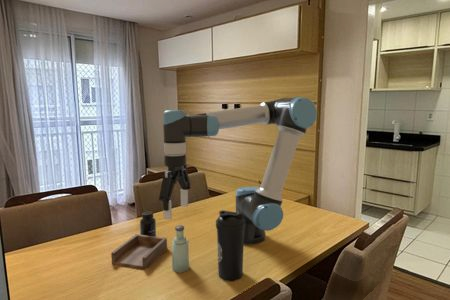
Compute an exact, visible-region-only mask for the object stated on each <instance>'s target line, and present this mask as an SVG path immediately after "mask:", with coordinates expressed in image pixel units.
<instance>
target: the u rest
mask: <svg viewBox="0 0 450 300" xmlns="http://www.w3.org/2000/svg"><path fill="white" fill-rule="evenodd" d="M167 249H168V239H167V237H162V236H156V237H155V236H147V235H140V233H137V234H135V235H133V236H131V238H129V239H127V241H124V242H123V244H121V245H120V246H118V247H117V248H115V249H114V250H113V251H112V252H110V254H111V255H110V256H111V264H112V265H116V266H121V267H122V266H123V267H128V268H129V267H130V268H134V269H141V270H148V268H149V267H150V266H151V265H152V264H153V263H154V262H155V261H156V260H157V259H158V258H159V257H160V256H161V255H162V254H163V253H164V252H165V251H166V250H167Z"/></svg>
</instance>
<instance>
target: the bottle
mask: <svg viewBox="0 0 450 300" xmlns="http://www.w3.org/2000/svg"><path fill="white" fill-rule="evenodd" d="M184 230H185V226H184V225H181V224H180V225H176V226H175V233H176V234H175V236H174V238H173V240H172V241H171V258H172V259H171V261H172V264H171V265H172V271H173V272H176V273H184V272H186V271H188V270H189V268H190V257H189V256H190V255H189V254H190V253H189V240H188V239H187V237H186V236H185V233H184Z"/></svg>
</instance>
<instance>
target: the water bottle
mask: <svg viewBox="0 0 450 300" xmlns="http://www.w3.org/2000/svg"><path fill="white" fill-rule="evenodd" d="M218 214H219V216H218V217H217V219H216V220H215V228H216V234H217V235H216V237H217V238H216V240H217V241H216V245H217V265H218V266H217V267H218V269H217V270H218V271H217V272H218V277H219V279H221V280H223V281H227V282H235V280H236V281H238V280H240V279H241V278H242V277H243V269H244V267H243V265H244V264H243V263H244V245H245V244H244V229H245V220H244V218H243V217H242V213H241V211H239V210H237V211H236V210H235V211H229V210H223V209H222V210H219V212H218Z"/></svg>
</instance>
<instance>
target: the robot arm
mask: <svg viewBox="0 0 450 300" xmlns="http://www.w3.org/2000/svg"><path fill="white" fill-rule="evenodd" d="M317 117H318V110H317V107H316V104H315V103H314V102H313V100H311V99H309V98H308V97H303V96H302V97H301V96H295V97H283V98H277V99H275V100H270V101H266V102H261V103H260V104H259V105H253V106H252V105H251V106H245V107H237V108H231V109H224V110H223V109H222V110H216V111H209V112H202V113H201V112H200V113H196V114H195V113H190V114H187V115H186V111H185V110H183V109H182V110H181V109H179V110H177V109H173V110H172V109H169V110H168V109H167V110H164V112H163V121H162V127H163V148H164V149H163V150H164V151H163V152H164V154H165V155H164V156H163V157H164V158H163V159H164V162H163V163H164V166H165V167H167V171H166V170H164V171H163V172H162V181H161V187H160V190H159V196H158V200H159V201H160V202H161V201H162V208H163V209H162V211H163V220H172V219H173V216H172V215H173V214H172V200H171V197H172V193H173V190H174V187H175V184H177V182H178V184H179V186H180V188H181V189H180V207H186V208H187V207H189V190H191V180H190V177H189V173H188V167H187V156H186V153H187V144H186V142H187V141H186V139H187V138H193V137H194V138H197V137H199V138H200V137H208V138H209V137H214V136H215V137H216V136H217V135H218V134H219V131H220V130H223V129H224V130H225V129H230V128H231V129H232V128H237V127H244V126H251V125H257V124H262V125H265V126H266V125H276V128H277V130H278V133H277V137H276V139H275V142H274V146H273V148H272V151H271V153H270V157H269V160H268V163H267V166H266V170H264V171H265V172H264V174H263V178H262V181H261V183H260V187H258V186H243V187H239V188H237V189H236V191H235V212H236V211H237V210H239V211H241V213H242V217H243V218H244V220H245V229H244V245H252V246H253V245H257V244H261V243H263V242H264V241H266V232H267V231H268V232H269V231H272V230H274V229H276V228H278V227H279V226H280V225H281V224H282V222H283V219H284V211H283V208H282V207H281V206H282V204H283V201H284V199H283V197H282V192H283V189H284V186H285V182H286V179H287V177H288V174H289V171H290V168H291V165H292V163H293V158H294V155H295V153H296V150H297V147H298V145H299V141H300V138H301V137H303V136H305V134H306V132H307V129H309V128H310V127H312V126H313V125H314V124H315V123H316V120H317Z"/></svg>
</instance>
